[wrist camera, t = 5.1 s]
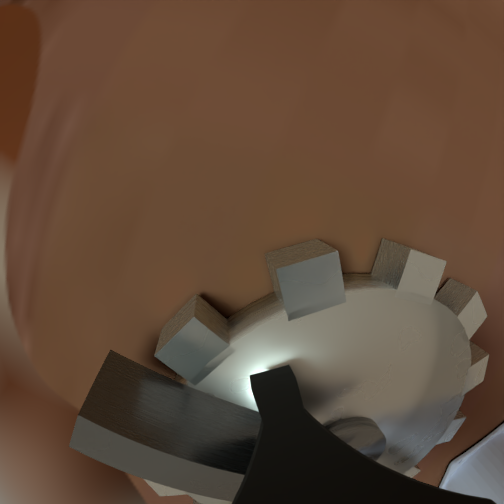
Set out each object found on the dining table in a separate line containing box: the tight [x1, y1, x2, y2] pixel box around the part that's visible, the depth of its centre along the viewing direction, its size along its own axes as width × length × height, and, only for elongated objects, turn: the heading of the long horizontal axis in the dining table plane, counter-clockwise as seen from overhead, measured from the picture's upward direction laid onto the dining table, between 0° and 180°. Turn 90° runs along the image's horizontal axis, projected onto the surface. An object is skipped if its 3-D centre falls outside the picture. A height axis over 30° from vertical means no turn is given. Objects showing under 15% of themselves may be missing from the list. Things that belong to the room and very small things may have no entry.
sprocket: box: [69, 238, 489, 504], centre depth 10 cm, size 16×18×5 cm
